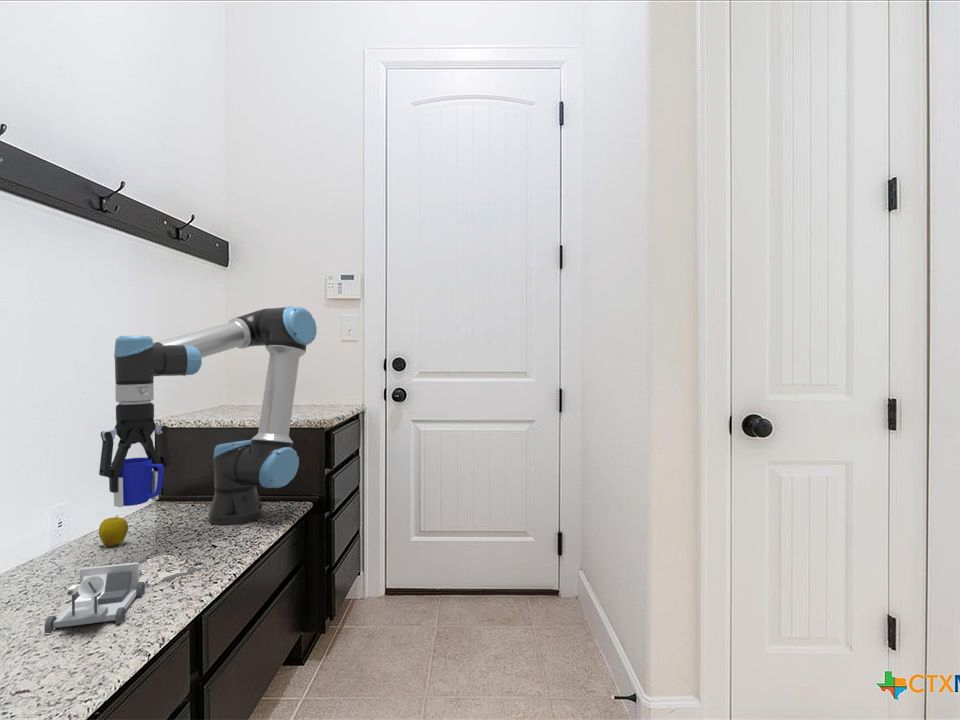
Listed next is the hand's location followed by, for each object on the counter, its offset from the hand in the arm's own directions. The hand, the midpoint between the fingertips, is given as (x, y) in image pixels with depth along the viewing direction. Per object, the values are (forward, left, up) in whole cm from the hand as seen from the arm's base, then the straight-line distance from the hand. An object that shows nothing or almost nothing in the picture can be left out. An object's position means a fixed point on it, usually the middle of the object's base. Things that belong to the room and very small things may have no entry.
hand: (136, 502), depth 129 cm
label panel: (0, +5, -15) cm, 16 cm away
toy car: (+16, +20, -16) cm, 30 cm away
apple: (-4, -23, -15) cm, 28 cm away
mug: (-1, 0, -1) cm, 1 cm away
